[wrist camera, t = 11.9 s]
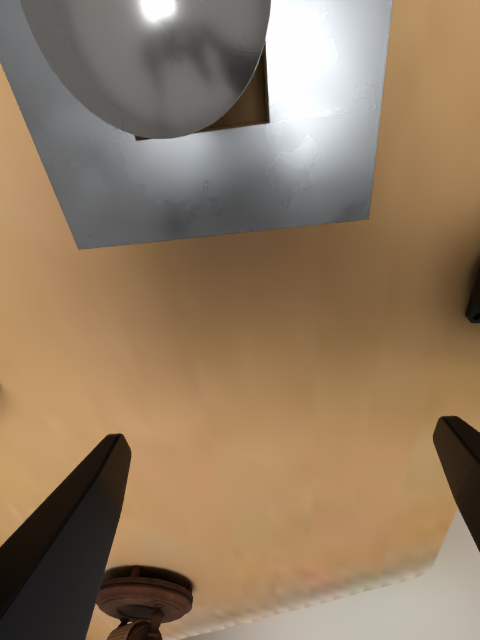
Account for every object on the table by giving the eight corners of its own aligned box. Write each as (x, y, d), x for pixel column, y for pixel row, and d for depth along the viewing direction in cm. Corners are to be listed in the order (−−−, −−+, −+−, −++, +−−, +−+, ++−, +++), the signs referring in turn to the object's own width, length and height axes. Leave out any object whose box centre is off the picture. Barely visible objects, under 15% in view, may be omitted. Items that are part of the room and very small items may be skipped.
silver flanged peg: (254, -45, 12) (261, -280, 5) (264, 116, 15) (278, 124, 8) (123, -22, 13) (-54, -203, 5) (157, 130, 15) (73, 151, 8)
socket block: (389, -290, 9) (440, -436, 7) (351, 202, 17) (368, 219, 14) (-49, -186, 10) (-142, -278, 8) (102, 230, 18) (78, 249, 16)
